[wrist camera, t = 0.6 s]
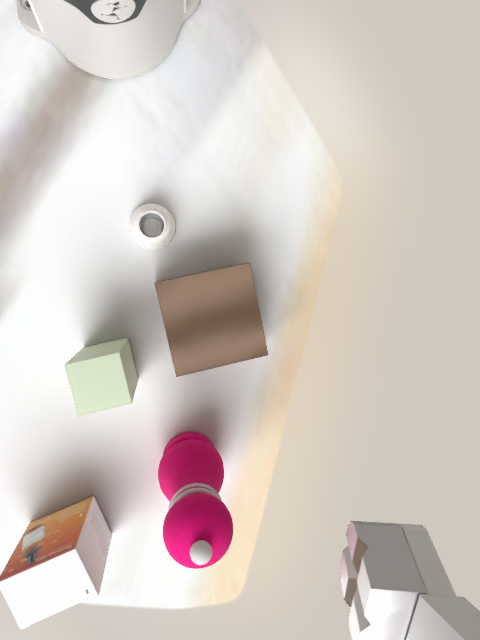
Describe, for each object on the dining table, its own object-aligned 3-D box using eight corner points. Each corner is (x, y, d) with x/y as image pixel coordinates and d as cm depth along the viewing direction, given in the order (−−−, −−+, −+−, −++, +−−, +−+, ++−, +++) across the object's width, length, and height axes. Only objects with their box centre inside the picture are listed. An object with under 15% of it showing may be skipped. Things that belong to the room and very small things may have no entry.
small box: (94, 493, 54) (77, 546, 44) (113, 534, 55) (100, 595, 44) (28, 521, 53) (-6, 582, 43) (47, 562, 54) (19, 632, 44)
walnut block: (156, 281, 53) (154, 283, 47) (240, 263, 54) (249, 263, 48) (175, 365, 54) (176, 376, 48) (257, 346, 55) (268, 355, 49)
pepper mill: (227, 472, 56) (259, 580, 36) (170, 494, 55) (172, 617, 36) (208, 418, 55) (231, 500, 35) (150, 440, 54) (140, 536, 35)
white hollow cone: (122, 214, 51) (141, 256, 52) (119, 211, 48) (139, 255, 49) (164, 197, 52) (182, 239, 53) (163, 193, 49) (182, 237, 50)
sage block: (83, 347, 52) (64, 365, 42) (128, 337, 53) (119, 352, 43) (94, 389, 53) (78, 416, 43) (138, 379, 53) (131, 403, 43)
